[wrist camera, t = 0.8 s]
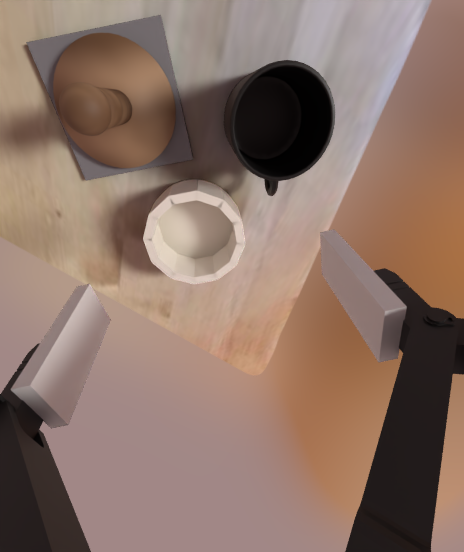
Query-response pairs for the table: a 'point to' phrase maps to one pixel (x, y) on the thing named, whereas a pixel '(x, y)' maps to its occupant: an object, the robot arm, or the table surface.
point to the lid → (114, 100)
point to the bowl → (194, 232)
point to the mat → (155, 43)
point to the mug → (280, 121)
